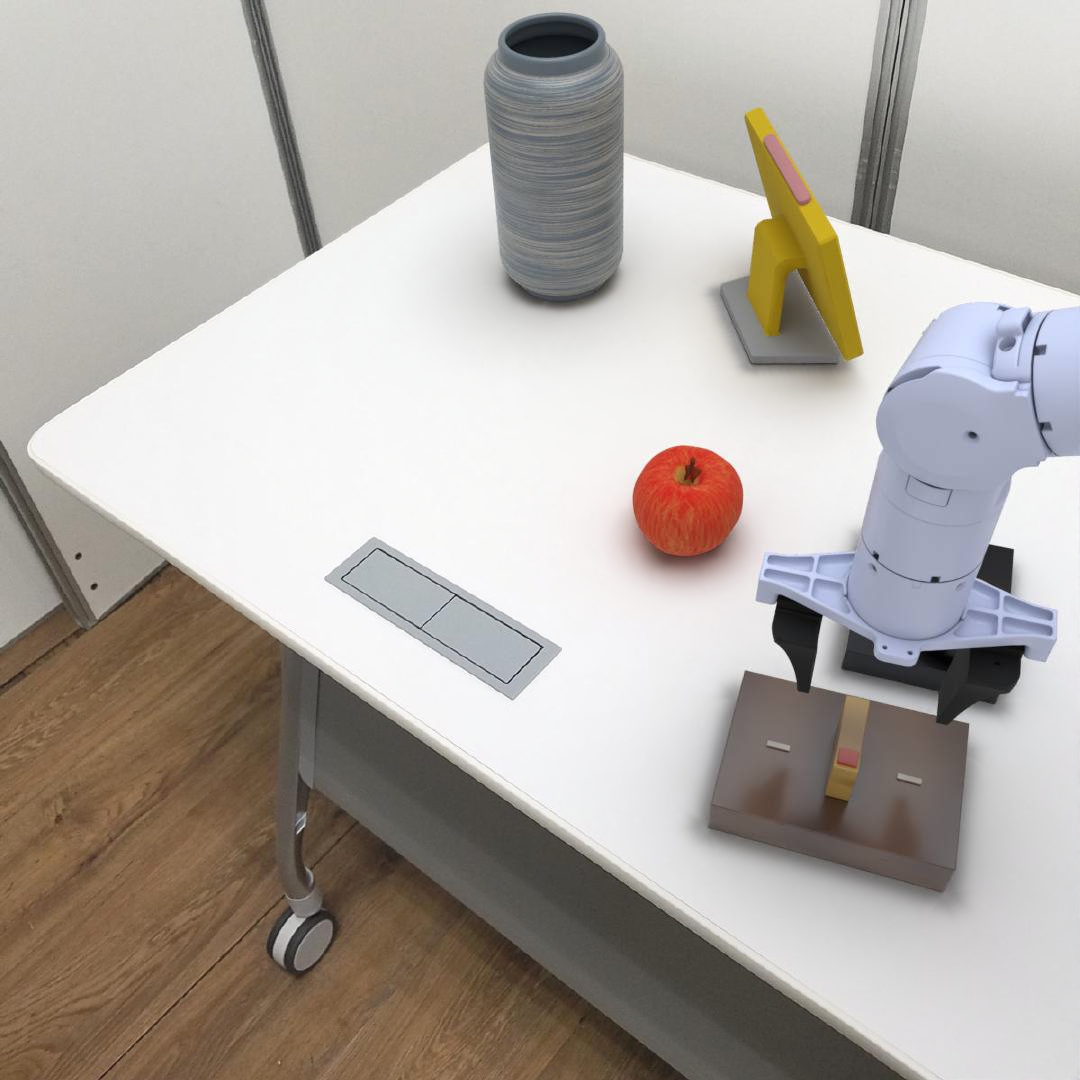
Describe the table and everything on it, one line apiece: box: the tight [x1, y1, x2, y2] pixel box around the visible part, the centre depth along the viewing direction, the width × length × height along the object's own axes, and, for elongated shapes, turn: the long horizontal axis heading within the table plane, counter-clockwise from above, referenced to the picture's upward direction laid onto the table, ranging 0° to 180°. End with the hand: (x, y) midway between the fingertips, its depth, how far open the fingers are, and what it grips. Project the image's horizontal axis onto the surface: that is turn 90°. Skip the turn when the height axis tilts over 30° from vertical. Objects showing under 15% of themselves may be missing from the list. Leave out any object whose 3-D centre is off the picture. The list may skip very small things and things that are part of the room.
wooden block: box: [825, 694, 870, 801], centre depth 65 cm, size 5×1×4 cm, turn 161°
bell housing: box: [840, 543, 1015, 705], centre depth 75 cm, size 10×12×4 cm
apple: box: [631, 444, 744, 557], centre depth 80 cm, size 8×8×8 cm
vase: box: [482, 11, 625, 302], centre depth 97 cm, size 12×12×23 cm
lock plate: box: [707, 669, 970, 893], centre depth 67 cm, size 14×10×3 cm
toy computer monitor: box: [719, 106, 865, 364], centre depth 93 cm, size 20×8×16 cm, turn 9°
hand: (873, 693), depth 62 cm, fingers open, 7 cm apart
